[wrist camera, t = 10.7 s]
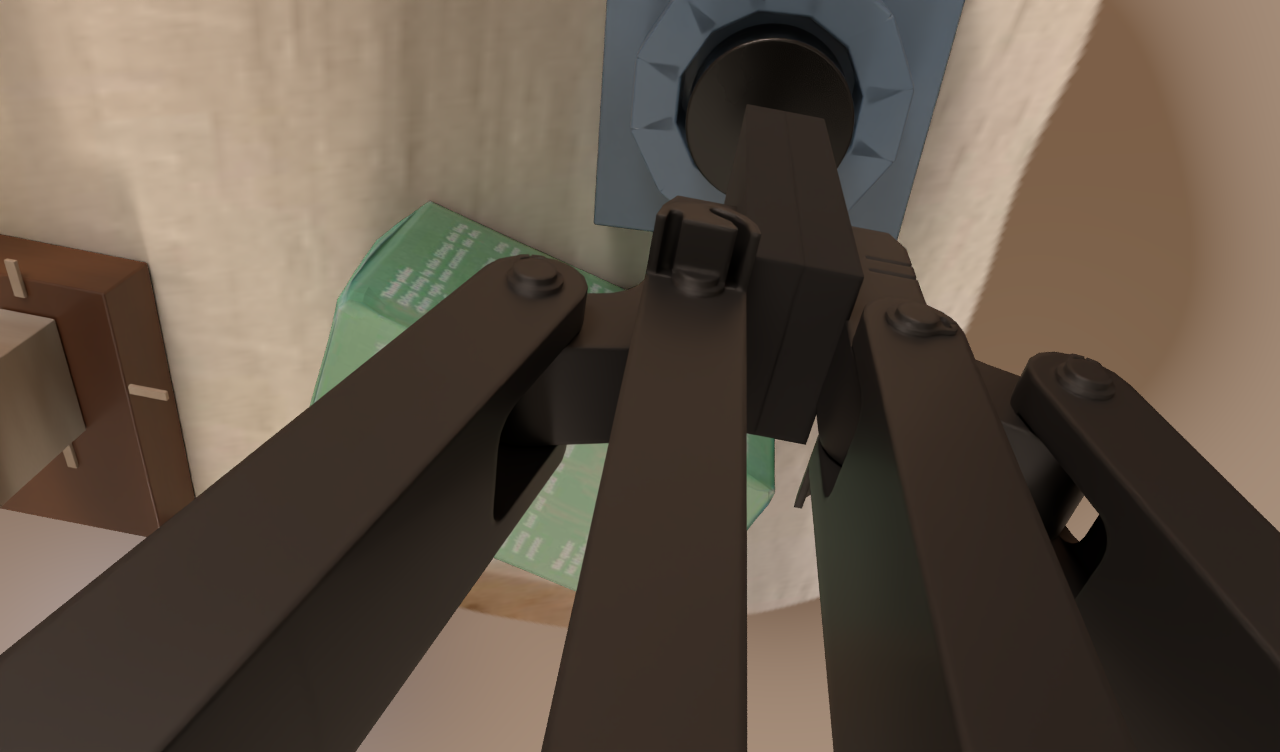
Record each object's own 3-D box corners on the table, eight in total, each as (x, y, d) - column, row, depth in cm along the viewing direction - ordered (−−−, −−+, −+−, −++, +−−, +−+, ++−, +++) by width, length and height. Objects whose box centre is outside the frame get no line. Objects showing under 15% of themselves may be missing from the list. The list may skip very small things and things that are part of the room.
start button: (828, 190, 22) (834, 215, 21) (681, 171, 22) (676, 195, 21) (864, 32, 20) (873, 48, 18) (699, 13, 20) (695, 28, 19)
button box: (881, 232, 26) (900, 291, 23) (603, 198, 27) (583, 250, 24) (968, -87, 21) (1008, -72, 18) (624, -124, 22) (602, -115, 19)
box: (417, 188, 27) (321, 297, 21) (778, 350, 29) (786, 492, 23) (368, 354, 31) (275, 486, 25) (688, 487, 33) (674, 638, 27)
